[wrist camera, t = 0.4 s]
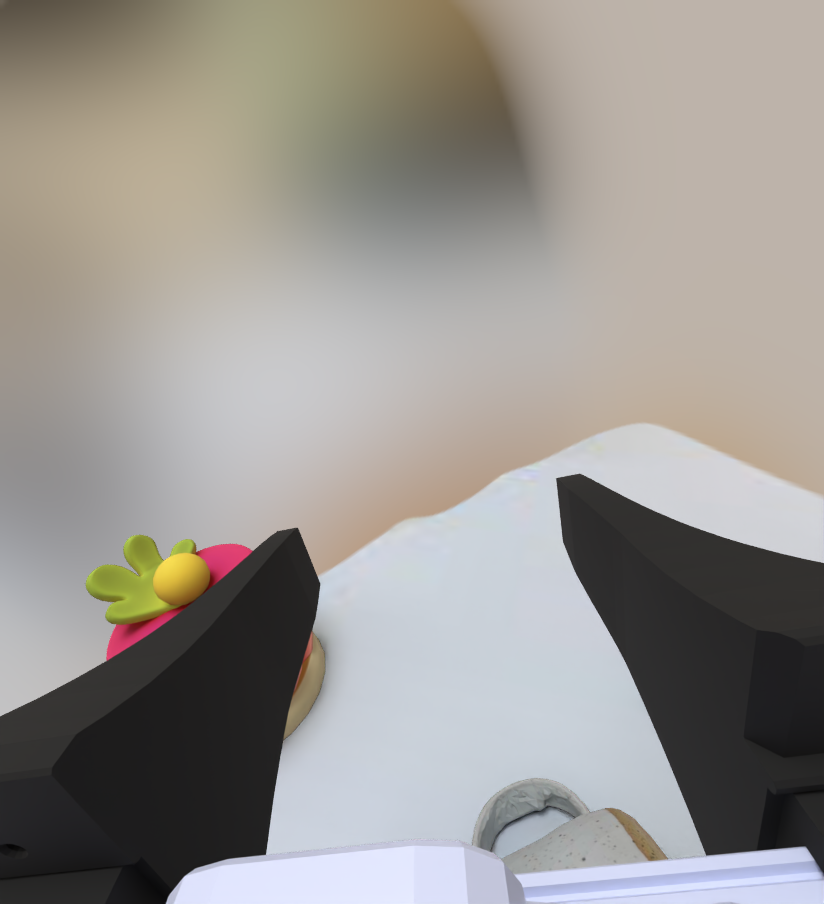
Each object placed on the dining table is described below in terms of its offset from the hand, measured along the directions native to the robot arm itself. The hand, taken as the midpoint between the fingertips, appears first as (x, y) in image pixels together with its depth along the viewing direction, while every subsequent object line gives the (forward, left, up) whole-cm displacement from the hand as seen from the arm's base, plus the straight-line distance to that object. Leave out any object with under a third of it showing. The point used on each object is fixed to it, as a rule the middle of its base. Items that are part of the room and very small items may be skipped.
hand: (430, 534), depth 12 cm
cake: (+8, +20, -20) cm, 29 cm away
